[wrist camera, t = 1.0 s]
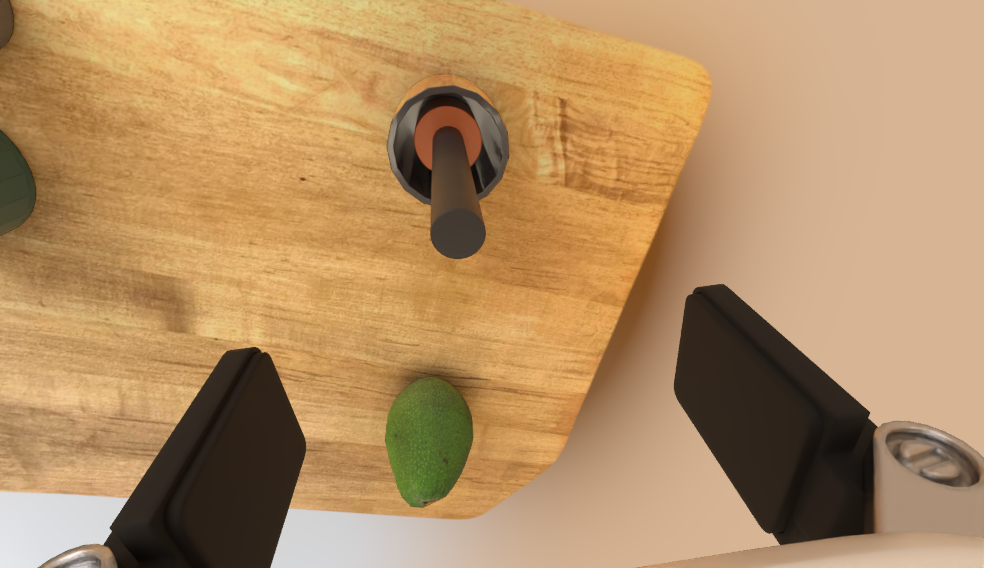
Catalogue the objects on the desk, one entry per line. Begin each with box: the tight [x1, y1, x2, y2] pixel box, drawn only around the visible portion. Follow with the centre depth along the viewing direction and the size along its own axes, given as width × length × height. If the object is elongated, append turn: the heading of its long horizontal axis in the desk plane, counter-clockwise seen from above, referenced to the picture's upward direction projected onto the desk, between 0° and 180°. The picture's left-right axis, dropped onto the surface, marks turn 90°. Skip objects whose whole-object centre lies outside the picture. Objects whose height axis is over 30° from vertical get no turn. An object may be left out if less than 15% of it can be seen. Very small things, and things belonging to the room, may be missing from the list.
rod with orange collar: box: [414, 97, 486, 259], centre depth 25 cm, size 4×4×19 cm
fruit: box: [385, 376, 473, 508], centre depth 40 cm, size 8×8×12 cm
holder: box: [387, 74, 509, 205], centre depth 30 cm, size 7×7×7 cm
